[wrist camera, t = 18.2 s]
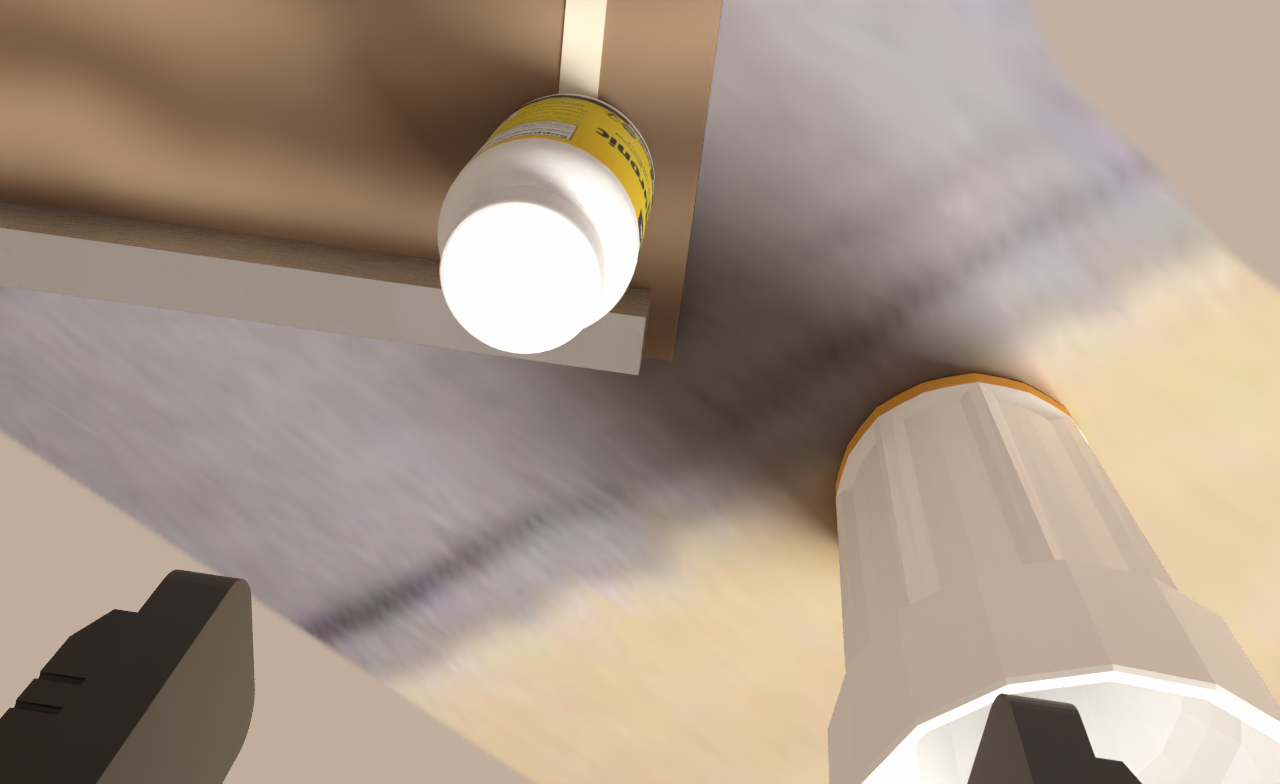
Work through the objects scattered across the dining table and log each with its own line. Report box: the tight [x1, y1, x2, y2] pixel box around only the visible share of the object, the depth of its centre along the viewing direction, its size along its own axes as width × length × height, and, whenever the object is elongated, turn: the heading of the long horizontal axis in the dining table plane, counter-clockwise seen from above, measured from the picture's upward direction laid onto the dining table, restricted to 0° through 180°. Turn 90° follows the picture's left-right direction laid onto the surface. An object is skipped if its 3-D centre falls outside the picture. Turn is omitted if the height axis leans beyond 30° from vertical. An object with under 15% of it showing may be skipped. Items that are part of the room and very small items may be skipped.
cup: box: [828, 373, 1280, 784], centre depth 35 cm, size 11×11×17 cm
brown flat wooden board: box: [0, 0, 723, 362], centre depth 38 cm, size 14×28×2 cm, turn 84°
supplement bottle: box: [437, 94, 655, 354], centre depth 33 cm, size 5×5×10 cm
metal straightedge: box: [0, 199, 652, 375], centre depth 39 cm, size 2×26×2 cm, turn 84°
